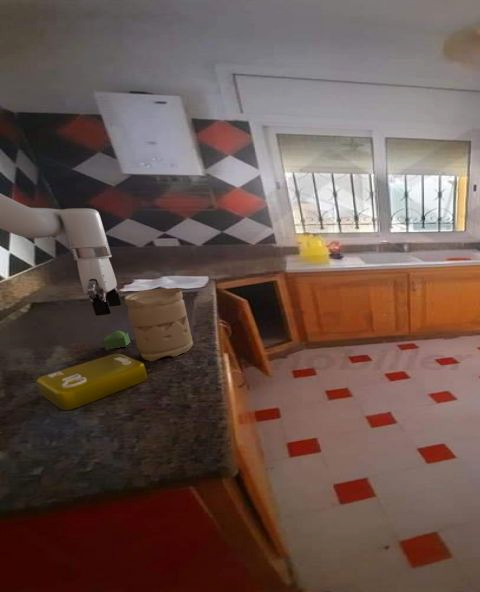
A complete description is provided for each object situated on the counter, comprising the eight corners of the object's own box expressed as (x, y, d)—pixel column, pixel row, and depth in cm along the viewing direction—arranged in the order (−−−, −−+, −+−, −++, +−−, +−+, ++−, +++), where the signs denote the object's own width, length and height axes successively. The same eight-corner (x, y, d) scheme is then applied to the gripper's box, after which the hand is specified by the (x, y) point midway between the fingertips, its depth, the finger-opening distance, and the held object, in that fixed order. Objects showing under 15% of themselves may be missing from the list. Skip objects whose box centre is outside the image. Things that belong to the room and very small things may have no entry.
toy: (105, 350, 95) (101, 335, 93) (110, 345, 98) (105, 331, 97) (126, 347, 97) (122, 332, 96) (130, 342, 100) (126, 328, 99)
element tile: (151, 379, 79) (146, 362, 77) (65, 413, 66) (58, 393, 64) (122, 366, 85) (117, 350, 84) (39, 395, 72) (32, 376, 71)
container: (198, 350, 95) (186, 293, 90) (144, 365, 86) (127, 302, 81) (187, 339, 103) (175, 286, 98) (136, 352, 94) (120, 294, 89)
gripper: (86, 250, 95) (103, 304, 100) (59, 258, 81) (80, 321, 85) (119, 248, 99) (134, 301, 103) (98, 255, 84) (117, 316, 89)
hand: (109, 310), depth 94 cm, fingers open, 9 cm apart
